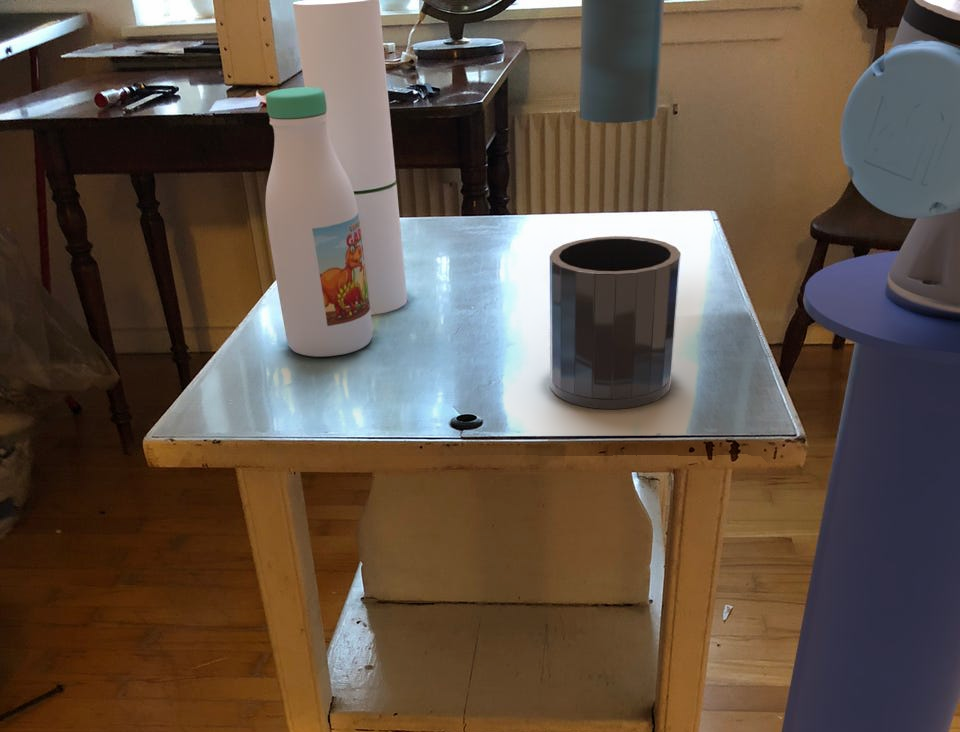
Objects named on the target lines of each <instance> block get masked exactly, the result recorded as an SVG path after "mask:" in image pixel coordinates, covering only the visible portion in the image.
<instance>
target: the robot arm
mask: <svg viewBox="0 0 960 732" xmlns="http://www.w3.org/2000/svg"><path fill="white" fill-rule="evenodd" d="M840 149H841V154H842V160H843V162H844V166H845V167H846V168H847V170H848V173H849V176H850V178H851V179H852V184H853V185H854V187H855V188H856V190H857V191H858V192H859V194H860V195H861V196H862V197H863V198H864V199H865V200H866V201H867V202H869V203H870V204H871V205H872V206H874V207H875V208H877V209H878V210H880V211H882V212H884V213H886V214H889V215H892V216H895V217H899V218H904V219H916V220H915V221H914V223H913V225H912V227H911V229H910V231H909V232H908V234H907V236H906V237H905V240H904V241H903V244H902V245H901V247H900V249H899V250H898V251H899V253H898V254H897V256H896V258H895V260H894V262H893V264H892V266H891V269H890V271H889V274H888V279H887V284H886V289H885V293H886V295H887V297H888V298H889V299H890V300H891V301H893V302H894V303H895V304H897V305H899V306H901V307H903V308H905V309H907V310H909V311H912V312H915V313H918V314H921V315H925V316H929V317H933V318H938V319H943V320H949V321H956V322H960V0H908V1H907V4H906V6H905V9H904V13H903V14H902V17H901V20H900V23H899V26H898V29H897V32H896V35H895V37H894V40H893V42H892V46H891V48H890V49H889V50H887V51H886V52H885V53H883V54H882V55H881V56H880V57H878V58H877V59H876V60H874V61H873V63H871V64H870V66H869V67H867V69H866V70H865V71H864V72H863V74H862V75H861V76H860V77H859V79H858V80H857V81H856V83H855V85H854V86H853V88H852V90H851V91H850V93H849V96H848V98H847V101H846V103H845V105H844V109H843V114H842V118H841V125H840Z"/></svg>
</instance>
